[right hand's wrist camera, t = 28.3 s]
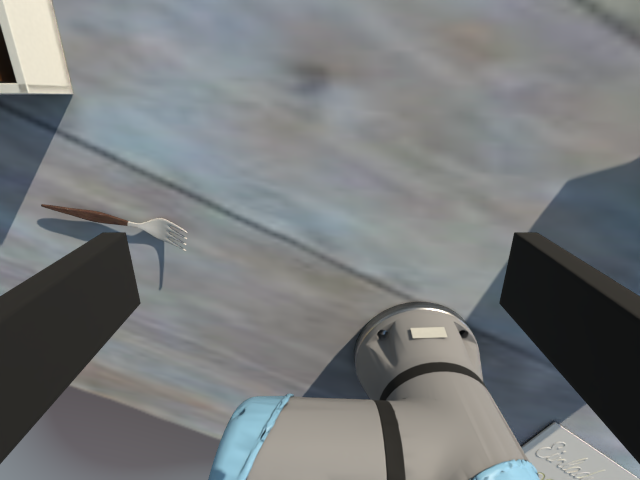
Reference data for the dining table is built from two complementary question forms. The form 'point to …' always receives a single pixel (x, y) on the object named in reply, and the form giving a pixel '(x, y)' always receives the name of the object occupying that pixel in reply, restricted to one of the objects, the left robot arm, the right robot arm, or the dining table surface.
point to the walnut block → (5, 63)
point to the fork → (127, 223)
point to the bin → (33, 48)
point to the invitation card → (570, 458)
